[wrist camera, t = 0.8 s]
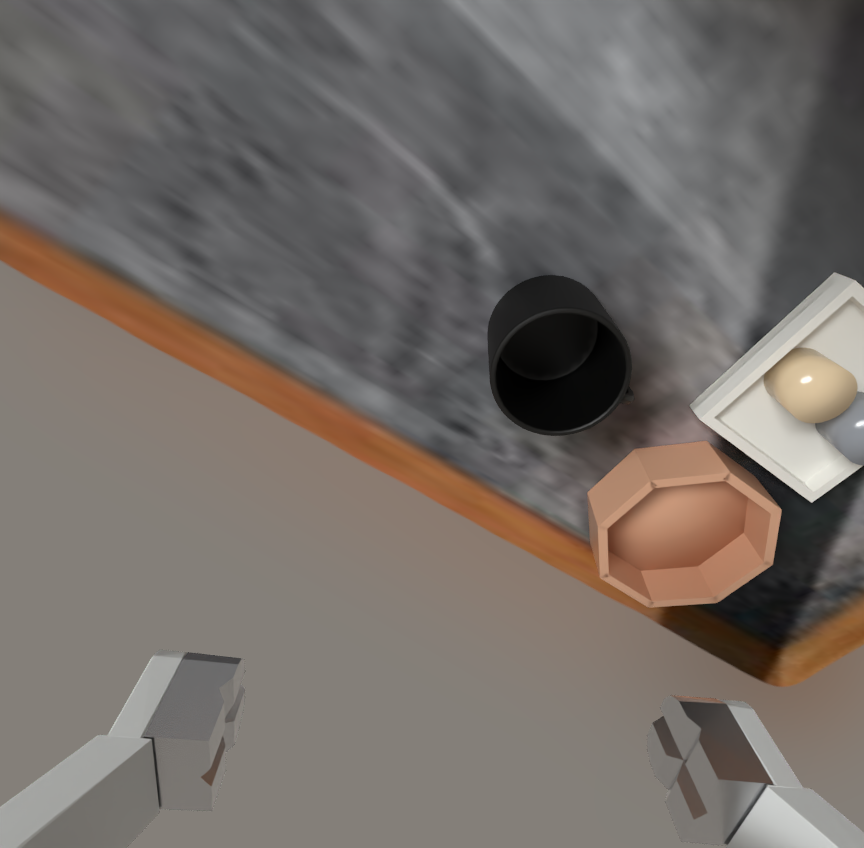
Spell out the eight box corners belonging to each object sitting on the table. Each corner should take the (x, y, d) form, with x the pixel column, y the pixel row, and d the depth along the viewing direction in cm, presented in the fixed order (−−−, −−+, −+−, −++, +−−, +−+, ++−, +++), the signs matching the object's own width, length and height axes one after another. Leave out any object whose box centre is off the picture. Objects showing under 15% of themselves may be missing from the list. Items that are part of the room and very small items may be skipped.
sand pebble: (800, 336, 41) (830, 355, 37) (838, 368, 42) (871, 390, 38) (751, 379, 43) (775, 401, 39) (788, 409, 44) (815, 433, 40)
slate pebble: (852, 380, 42) (886, 403, 39) (888, 411, 43) (924, 435, 40) (802, 421, 44) (830, 445, 41) (838, 449, 45) (868, 475, 42)
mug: (583, 414, 47) (605, 472, 39) (466, 351, 45) (464, 399, 37) (654, 325, 42) (694, 370, 34) (528, 251, 40) (540, 280, 32)
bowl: (671, 414, 46) (691, 444, 42) (786, 499, 49) (816, 534, 45) (556, 520, 53) (564, 556, 48) (665, 588, 56) (681, 627, 52)
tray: (834, 272, 39) (855, 280, 37) (946, 374, 42) (972, 387, 40) (688, 405, 45) (699, 419, 43) (796, 486, 49) (811, 502, 46)
